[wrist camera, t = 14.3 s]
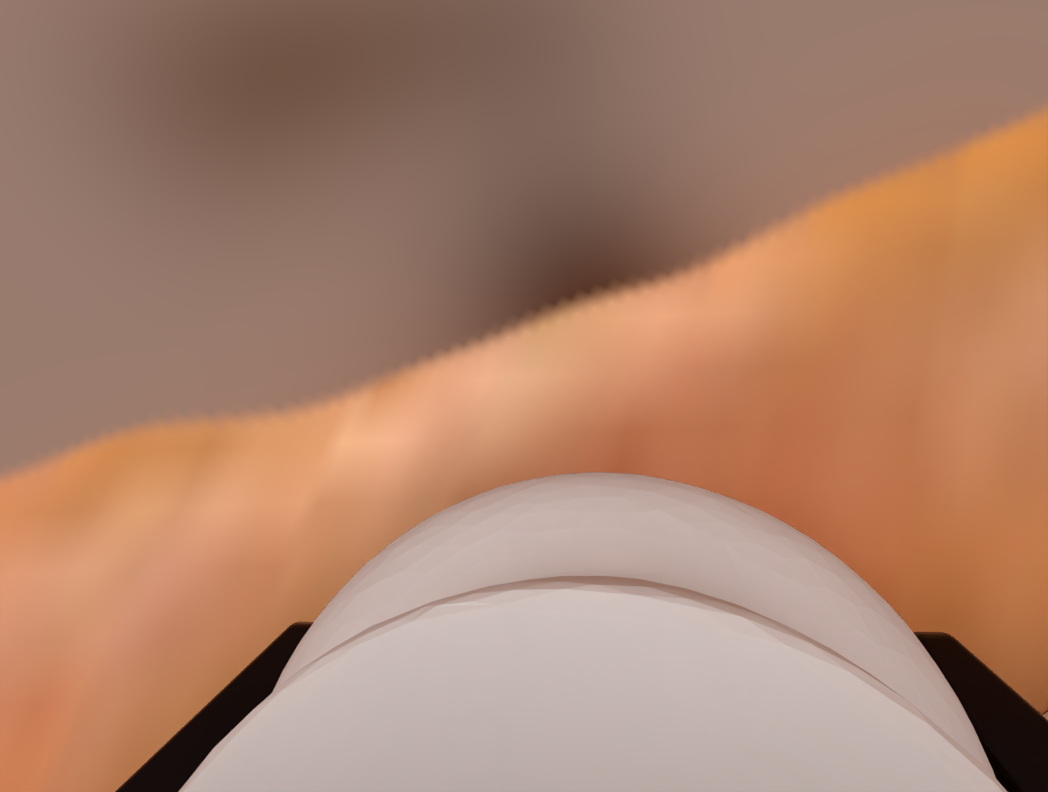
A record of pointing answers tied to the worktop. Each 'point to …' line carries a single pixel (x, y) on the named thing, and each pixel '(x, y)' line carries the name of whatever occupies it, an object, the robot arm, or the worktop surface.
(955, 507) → the worktop surface
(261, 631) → the worktop surface
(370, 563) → the supplement bottle
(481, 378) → the worktop surface
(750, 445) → the worktop surface
